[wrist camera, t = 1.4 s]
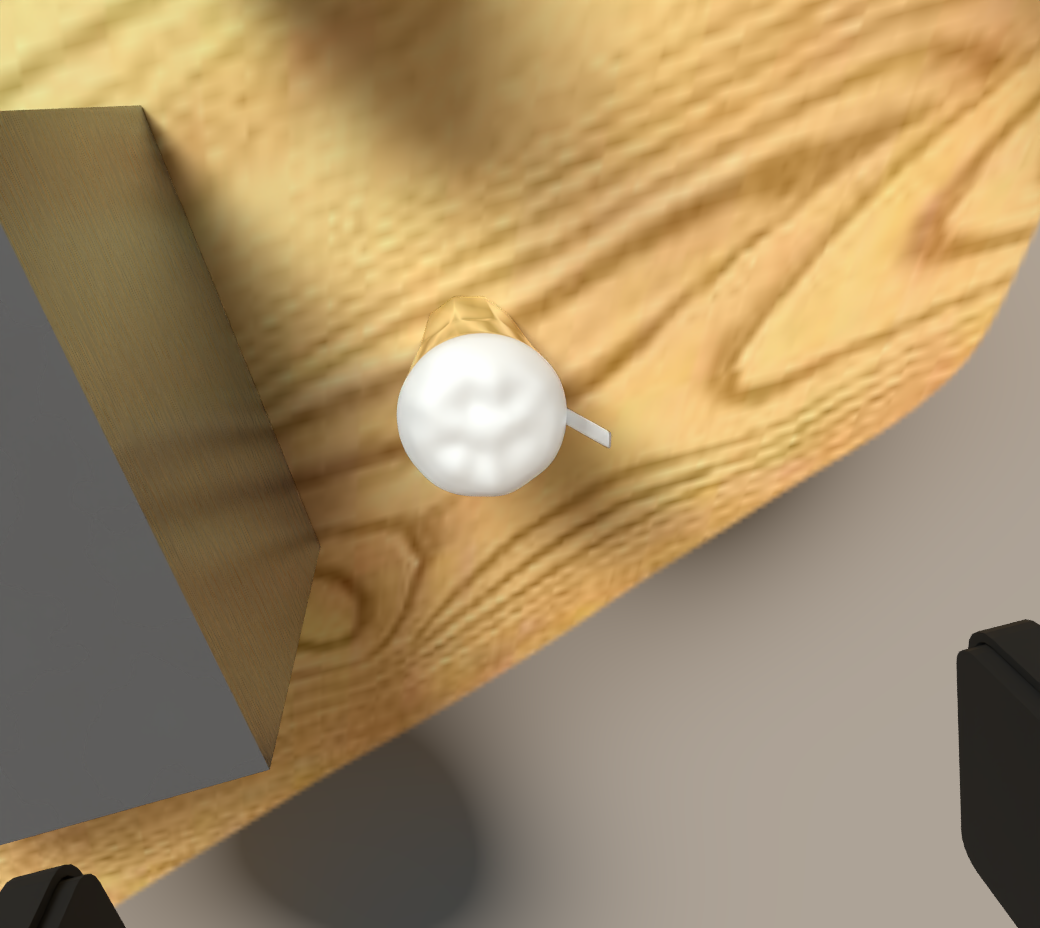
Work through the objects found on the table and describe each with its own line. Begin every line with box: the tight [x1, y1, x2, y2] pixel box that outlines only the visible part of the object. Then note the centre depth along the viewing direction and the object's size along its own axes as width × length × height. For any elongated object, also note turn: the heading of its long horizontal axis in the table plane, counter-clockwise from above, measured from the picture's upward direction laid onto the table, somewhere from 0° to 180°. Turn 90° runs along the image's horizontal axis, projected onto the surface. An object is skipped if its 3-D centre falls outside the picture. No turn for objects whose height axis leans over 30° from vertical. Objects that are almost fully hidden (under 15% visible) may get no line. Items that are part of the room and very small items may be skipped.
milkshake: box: [397, 296, 611, 496], centre depth 26 cm, size 4×5×10 cm
